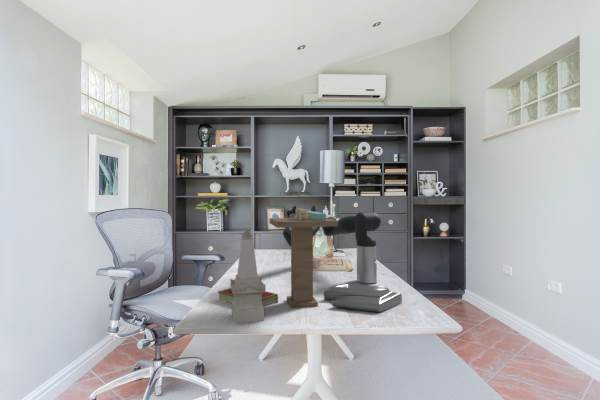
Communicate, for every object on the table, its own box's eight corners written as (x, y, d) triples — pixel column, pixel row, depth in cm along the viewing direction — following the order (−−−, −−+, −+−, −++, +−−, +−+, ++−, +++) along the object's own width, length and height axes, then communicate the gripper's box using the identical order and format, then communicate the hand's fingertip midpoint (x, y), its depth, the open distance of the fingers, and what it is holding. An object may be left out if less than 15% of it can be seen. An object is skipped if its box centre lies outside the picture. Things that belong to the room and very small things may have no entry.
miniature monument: (265, 321, 113) (265, 229, 113) (233, 324, 110) (232, 230, 110) (260, 311, 123) (260, 227, 123) (230, 313, 120) (230, 227, 120)
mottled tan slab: (300, 277, 189) (355, 276, 189) (300, 266, 189) (355, 264, 188) (301, 264, 217) (349, 262, 217) (301, 254, 217) (349, 252, 216)
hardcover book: (240, 294, 146) (240, 284, 146) (278, 303, 133) (278, 292, 133) (217, 301, 136) (217, 290, 136) (255, 312, 123) (255, 300, 123)
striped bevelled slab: (339, 301, 117) (318, 282, 144) (339, 317, 117) (318, 295, 144) (414, 296, 123) (380, 278, 150) (414, 311, 123) (380, 291, 150)
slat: (302, 216, 153) (302, 210, 153) (308, 216, 153) (308, 210, 153) (317, 220, 125) (317, 213, 125) (325, 220, 126) (325, 213, 126)
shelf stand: (269, 296, 141) (269, 208, 140) (322, 293, 145) (321, 208, 145) (277, 314, 119) (276, 210, 119) (338, 310, 124) (338, 209, 123)
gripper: (312, 229, 169) (321, 214, 156) (284, 230, 166) (290, 215, 152) (310, 215, 173) (318, 199, 159) (282, 216, 170) (288, 200, 156)
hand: (304, 207), depth 156 cm, fingers open, 8 cm apart
